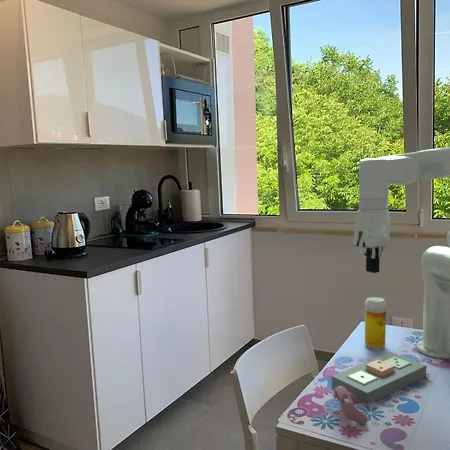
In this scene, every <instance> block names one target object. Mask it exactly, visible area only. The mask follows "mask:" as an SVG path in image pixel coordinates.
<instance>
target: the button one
mask: <svg viewBox="0 0 450 450" xmlns="http://www.w3.org/2000/svg"><path fill="white" fill-rule="evenodd" d="M348 379H351V380H353V381H355V382H357V383H359V384H361V385H363V386H365V385H367V384H369V383H372V382H374V381H376V380H377V377H375V376H372V375H370V374H368V373H365V372H363V371H359V372H356V373H354V374H351V375H349V376H348Z"/></svg>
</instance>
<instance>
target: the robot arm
mask: <svg viewBox="0 0 450 450" xmlns="http://www.w3.org/2000/svg"><path fill="white" fill-rule="evenodd" d="M446 178H450V146H445V147H440V148H439V147H438V148H432V149H424V150H420V151H415V152H408V153H401V154H400V153H399V154H393V155H387V156H380V157H378V158H377V157H376V158H375V157H374V158H371V157H370V158H364V159H363V158H362V159H361V160H360V162H359V166H358V210H356V211H357V212H356V215H355V220H354V227H353V228H354V230H353V231H354V232H353V245H354V246H355V247H358V249H357V252H358V253H361V254H364V258H365V271H366V272H368V273H372V274H376V273H379V272H380V263H381V262H380V261H381V259H380V258H381V257H382V253H383V251H384V250H385V249H387V248H388V244H390V241H391V219H390V213H389V185H395V186H397V185H398V186H404V185H410V184H412V183H414V182H415V181H417V180H441V179H446ZM446 242H447V245H448V246H444V245H434V246H431V247H428V248H426V250H424V252H423V253H422V256H421V261H420V262H421V264H420V265H421V266H420V267H421V272H422V277H423V314H422V315H423V316H422V317H423V318H422V340H420V341H418V342H417V344H416V349H417V351H419V353H421V354H424V355H425V356H428V357H431V358H437V359H444V360H450V230H449V231H448V233H447V235H446Z"/></svg>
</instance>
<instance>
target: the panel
mask: <svg viewBox="0 0 450 450" xmlns="http://www.w3.org/2000/svg"><path fill="white" fill-rule="evenodd" d="M392 357H397V358H399V359H402V360H405V361H407V362H410V363H411V365H409V366H407V367H405V368H403V369H401V370H398V369H396V368H394V373H392V374H389V375H387V376H385V377H383V378H382V377H380V376H377V375H375V374H373V373H370V372H368V371H366V364H368V363H371V362H373V361H376V360H381V361H385V360H388V359H390V358H392ZM359 371H363V372H365V373H368V374H370V375H372V376H375V377H377V380H376V381H374V382H372V383H369V384H367V385H365V386H363V385H361V384H359V383H357V382H355V381H353V380H351V379H348V376H349V375H351V374H354V373H356V372H359ZM425 377H427V365H426V364H423V363H421V362H419V361H415V360H413V359H410V358H407V357H405V356H402V355H399V354H398V353H394V352H388V353H385V354H382V355H380V356H378V357H375V358H373V359H370V360H368V361H366V362H363V363H360V364H358V365H356V366H353V367H350V368H348V369H346V370H343V371H341V372H338V373H335V374H334V375H332V376H331V387H332V388H333V389H334V388H336V387H338V386H343V387H345V388H346V390H348V391H349V392H350V393H352V394H353V395H354V396H355V397H356V398H357V402H358V401H359V402H360V403H362V404H365V405H367V406H368V405H370V404H372V403H374V402H376V401H378V400H380V399H382V398H384V397H386V396H389V395H390V394H393V393H394V392H396V391H399V390H400V389H403V388H405V387H408V385H412V384H414V383H415V382H417V381H420V380H421V379H423V378H425Z"/></svg>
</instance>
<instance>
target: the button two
mask: <svg viewBox="0 0 450 450" xmlns="http://www.w3.org/2000/svg"><path fill="white" fill-rule="evenodd" d="M366 371H368V372H370V373H373V374H375V375H377V376H380V377H382V378H383V377H385V376H387V375H389V374H392V373H394V365H391V364H389V363H386V362H383V361H381V360H376V361H373V362H371V363H368V364H366Z"/></svg>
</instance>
